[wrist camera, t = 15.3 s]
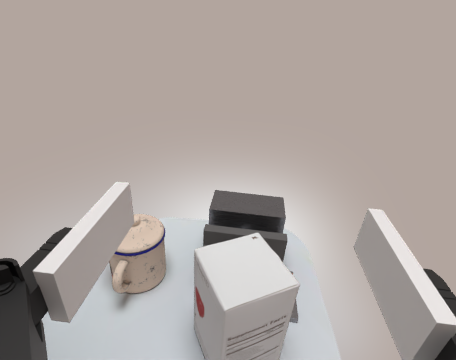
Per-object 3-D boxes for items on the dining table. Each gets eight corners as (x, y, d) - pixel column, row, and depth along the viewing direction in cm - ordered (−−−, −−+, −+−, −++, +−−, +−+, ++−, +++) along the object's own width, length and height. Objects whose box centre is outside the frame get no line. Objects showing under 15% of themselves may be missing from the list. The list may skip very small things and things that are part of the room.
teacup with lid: (125, 251, 52) (117, 198, 46) (173, 257, 51) (171, 204, 45) (90, 307, 41) (74, 248, 36) (150, 316, 41) (144, 256, 35)
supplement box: (191, 326, 40) (191, 246, 32) (247, 306, 43) (258, 229, 36) (216, 394, 32) (223, 311, 25) (280, 363, 36) (302, 282, 29)
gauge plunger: (202, 283, 46) (203, 230, 40) (211, 244, 54) (213, 196, 49) (291, 295, 45) (305, 243, 39) (287, 253, 53) (297, 205, 48)
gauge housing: (196, 308, 42) (197, 248, 36) (212, 242, 55) (215, 190, 49) (297, 322, 41) (314, 263, 35) (289, 251, 54) (300, 199, 48)
